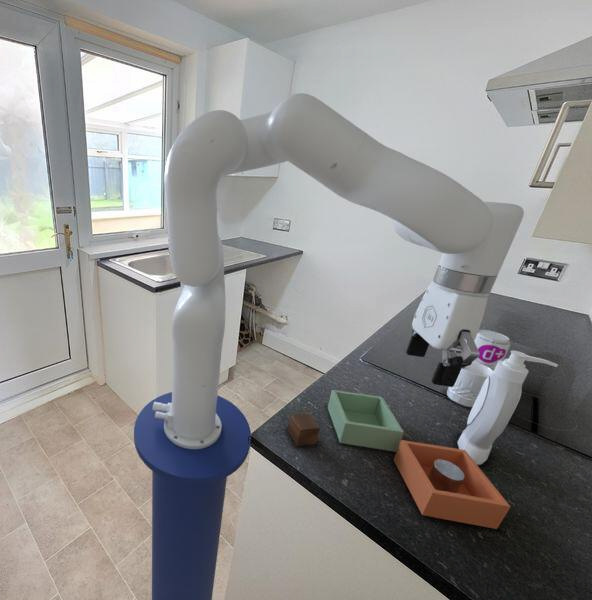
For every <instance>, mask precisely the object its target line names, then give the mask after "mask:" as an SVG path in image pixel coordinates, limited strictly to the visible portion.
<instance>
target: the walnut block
mask: <svg viewBox="0 0 592 600" xmlns="http://www.w3.org/2000/svg"><path fill="white" fill-rule="evenodd" d="M289 416H290V417H289V422H288V427H287V432H288V434H289V436H290V437H291V439H292V440H293V442H294V444H295V445H296V446H297V447H301V446H310V445H316V444H317V441H318V437H319V433H320V429H321V427H320V426H319V425H318V423H317V422H316V421H315V420H314V418H313V417H312V415H311V414H310V413H309V412H307V413H299V414H298V413H297V414H290V415H289Z"/></svg>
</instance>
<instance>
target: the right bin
mask: <svg viewBox="0 0 592 600" xmlns="http://www.w3.org/2000/svg"><path fill="white" fill-rule="evenodd" d="M438 459H442V460H446V461H449V462H451V463H453V464H454V465H456V466H457V467H458V468H460V469H461V471H462V472H463V473H464V480H463V482H462V484H461V486H460V488H459V490H458V492H457V493H452V492H446V491H440V490H435V489H434V487H433V485H432V484H431V482H430V480H429V479H428V475H429V473H430V471H431V469H432V466H433V464H434V462H435V461H436V460H438ZM393 462H394V464H395V466H396V467H397V469H398V472H399V473H400V476H401V477H402V479H403V481H404V483H405V485H406V487H407V489H408V490H409V493H410V494H411V496H412V498H413V500H414V502H415V505H416V507H417V508H418V510H419V512H420V514H421V515H422V516H425V517H430V518H436V519H441V520H446V521H452V522H456V523H461V524H462V523H463V524H468V525H473V526H478V527H484V528H489V529H494V530H498V528H499V527H500V525H501V524H502V522H503V521H504V519H505V517H506V515H507V514H508V513H509V510H510V509H511V505H510V504H509V503H508V501H507V499H506V498H504V497H503V495H502V494H501V492H500V491H499V490H498V489H497V488H496V487H495V485H494V483H492V482H491V480H490V479H489V478H488V477H487V476H486V474H485V473H484V472H483V471H482V469H481V468H480V467H479V465H477V464H476V463H475V462H474V461H473V459H472V458H471V457H470V456H469V454H468V453H467V452H466V451H465V450H462V449H461V450H460V449H459V448H455V447H448V446H443V445H436V444H429V443H423V442H418V441H417V442H416V441H411V440H406V439H405V440H404V439H401V442H400V444H399V447H398V450H397V452H395V455H394V457H393Z"/></svg>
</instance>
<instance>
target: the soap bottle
mask: <svg viewBox="0 0 592 600" xmlns="http://www.w3.org/2000/svg"><path fill="white" fill-rule="evenodd" d="M525 361H527V362H533V363H541V364H545V365H548V366H552V367H554V368H557V367H558V366H559V364H558V363H555V362H553V361H551V360H548V359H544V358H541V357H536V356H531V355H528V354H526V353H525V352H522V351H518V350H510V355H509V357H508V358H504V360H503V361H498V363H497V365H496V367H495V369H494V371H493V373H492V374H491V376H489V377H487V378H486V380H485V382H484V384H483V386H482V388H481V391H480V393H479V395H478V397H477V399H476V401H475V403H474V405H473V407H471V409H470V412H469V415H468V416H467V420H466V428H464V430H463V431H462V432H461V435H460V436H459V438H458V440H457V447H458V449H460V450H461V449H462V450H465V451H466V452H467V453H468V454H469V456H470V457H471V458H472V459H473V461H474V462H475V463H476V464H477V466H480V465H483V464H484V463H485V462H486V461H488V458H489V456H490V453H491V451H492V447H493V444H494V442H495V440H496V439H497V438H499V437H500V436H501V435H502V434H503V432H504V430H505V429H506V427H507V425H508V423H509V422H510V420H511V418H512V416H513V414H514V412H515V410H516V409H517V406H518V404H519V402H520V400H521V397H522V393H523V391H522V390H523V388H522V387H523V385H524V382H525V380H526V379H527V376H528V374H529V368H528V369H527V368H526V367H527V366H526V364H525Z"/></svg>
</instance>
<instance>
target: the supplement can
mask: <svg viewBox="0 0 592 600" xmlns="http://www.w3.org/2000/svg"><path fill="white" fill-rule="evenodd" d="M474 342H475V344H476V347H477V349H478V351H479V353H480V355H479V357H478V358H477V359H475V360H474V361H473V362H476V363H479V364H482V365H484V366H486V367H488V368H490V369H491V370H493V371H494V369H495V367H496V365H497V363H498V361H504V359H506V356H507V354H508V352H509V350H510V347H511V342H510V338H509V337H508V336H507V335H505V334H502V333H500V332H497V331H493V330H489V329H479V330H478V333H477V336H476V338H475V340H474Z"/></svg>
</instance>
